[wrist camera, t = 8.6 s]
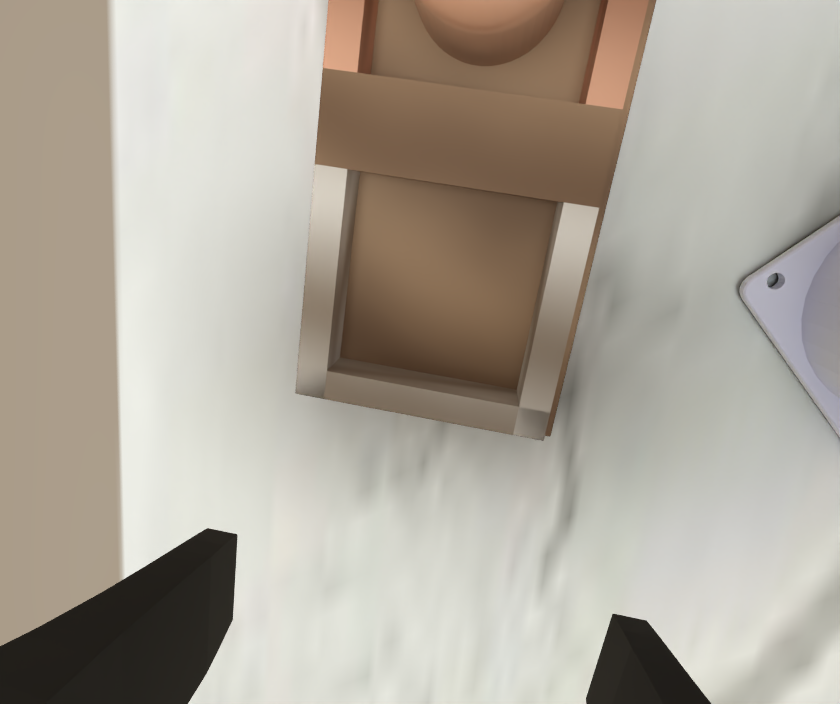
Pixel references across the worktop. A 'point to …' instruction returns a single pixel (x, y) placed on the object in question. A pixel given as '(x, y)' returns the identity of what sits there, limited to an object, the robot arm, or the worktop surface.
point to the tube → (488, 27)
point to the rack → (460, 212)
